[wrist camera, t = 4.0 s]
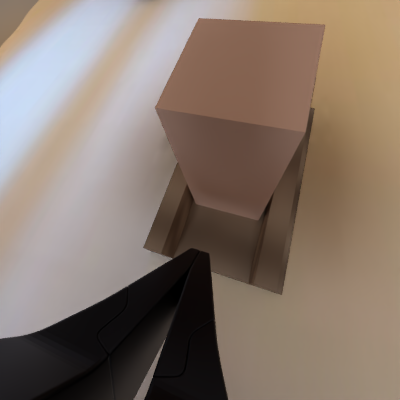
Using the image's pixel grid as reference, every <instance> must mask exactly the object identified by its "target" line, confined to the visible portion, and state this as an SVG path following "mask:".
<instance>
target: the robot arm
mask: <svg viewBox="0 0 400 400" xmlns="http://www.w3.org/2000/svg"><path fill="white" fill-rule="evenodd" d="M166 336H167V337H166ZM165 338H166V340H165ZM164 340H165V343H164V345H163V348H162V351H161V354H160V357H159V360H158V363H157V366H156V369H155V372H154V375H153V378H152V381H151V384H150V386H149V389H148V392H147V394H146V397H145V399H144V400H228V397H227V392H226V387H225V382H224V377H223V373H222V368H221V363H220V357H219V351H218V344H217V336H216V325H215V314H214V302H213V289H212V277H211V264H210V254H209V253H207V252H204V251H200V250H198V249H195V248H190V249H188V250H187V251H185V252H183V253H182V254H180V255H178V256H177V257H175V258H173V259H172V260H170V261H168V262H167V263H165V264H163V265H162V266H160V267H158V268H157V269H155V270H153V271H152V272H150V273H148V274H147V275H145V276H143V277H142V278H140V279H138V280H137V281H135V282H134V283H132V284H130V285H129V286H128V287H125V288H123V289H122V290H120V291H118V292H117V293H115V294H113V295H111V296H110V297H108V298H106V299H104V300H102V301H100V302H98V303H96V304H94V305H93V306H91V307H89V308H86V309H84V310H82V311H80V312H78V313H76V314H74V315H72V316H70V317H68V318H66V319H64V320H62V321H60V322H58V323H56V324H53V325H51V326H49V327H47V328H45V329H42V330H40V331H37V332H34V333H31V334H28V335H23V336H18V337H10V338H2V339H0V400H133V399H134V397H135V396H136V394H137V392H138V390H139V388H140V386H141V384H142V382H143V380H144V378H145V376H146V374H147V373H148V371H149V369H150V367H151V365H152V363H153V361H154V359H155V357H156V355H157V353H158V352H159V350H160V348H161V346H162V344H163V342H164Z"/></svg>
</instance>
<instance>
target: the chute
mask: <svg viewBox="0 0 400 400" xmlns="http://www.w3.org/2000/svg"><path fill="white" fill-rule="evenodd" d="M315 80H316V78H315ZM314 85H315V84H314ZM313 91H314V89H313ZM312 96H313V94H312ZM311 101H312V100H311ZM310 107H311V105H310ZM314 109H315V108H310V111H309V116H308V121H307V127H306V132H305V134H304V136H303V138H302V140H301V142H300V144H299V145H298V147H297V149H296V151H295V153H294V155H293V157H292V159H291V160H290V162H289V164H288V166H287V168H286V170H285V172H284V174H283V175H282V177H281V179H280V181H279V183H278V185H277V187H276V189H275V190H274V192H273V194H272V196H271V198H270V200H269V202H268V204H267V205H266V207H265V209H264V211H263V213H262V215H261V217H260V219H259V220H254V219H250V218H247V217H243V216H239V215H235V214H232V213H228V212H224V211H220V210H216V209H213V208H209V207H205V206H201V205H198V204H196V203H195V201H194V198H193V196H192V194H191V191H190V189H189V187H188V184H187V182H186V180H185V177H184V175H183V173H182V170H181V168H180V166H179V163H177V165H176V168H175V170H174V173H173V175H172V178H171V180H170V183H169V185H168V188H167V190H166V193H165V195H164V198H163V200H162V203H161V205H160V208H159V210H158V213H157V215H156V218H155V220H154V222H153V225H152V227H151V230H150V232H149V235H148V237H147V240H146V242H145V245H144V247H143V248H145V249H147V250H150V251H153V252H156V253H159V254H162V255H165V256H168V257H171V258H175V257H177V256H178V255H180V254H182V253H183V252H185V251H187V250H188V249H190V248H195V249H198V250H200V251H204V252H207V253H209V254H210V264H211V271H212V272H215V273H218V274H221V275H224V276H227V277H230V278H233V279H236V280H239V281H242V282H245V283H248V284H251V285H254V286H257V287H260V288H263V289H266V290H269V291H272V292H274V293H277V294H281V295H282V291H283V285H284V280H285V274H286V268H287V263H288V257H289V251H290V246H291V240H292V234H293V228H294V223H295V217H296V211H297V206H298V200H299V194H300V189H301V183H302V177H303V172H304V166H305V160H306V154H307V149H308V143H309V137H310V132H311V126H312V120H313V115H314Z"/></svg>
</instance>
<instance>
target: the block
mask: <svg viewBox="0 0 400 400" xmlns="http://www.w3.org/2000/svg"><path fill="white" fill-rule="evenodd" d="M324 29H325V25H320V24H300V23H281V22H261V21H241V20H222V19H202V18H199V19H198V21H197V23H196V25H195V27H194V29H193V31H192V33H191V35H190V37H189V39H188V41H187V43H186V45H185V48H184V50H183V52H182V54H181V56H180V58H179V60H178V62H177V64H176V66H175V68H174V70H173V72H172V74H171V76H170V78H169V80H168V82H167V84H166V86H165V88H164V90H163V93H162V95H161V97H160V99H159V101H158V103H157V105H156V107H155V109H156V111H157V114H158V116H159V118H160V121H161V123H162V126H163V128H164V130H165V133H166V135H167V137H168V140H169V142H170V144H171V147H172V149H173V151H174V154H175V156H176V158H177V161H178V163H179V166H180V168H181V170H182V173H183V175H184V177H185V180H186V182H187V184H188V187H189V189H190V191H191V194H192V196H193V198H194V201H195V203H196V204H198V205H201V206H205V207H209V208H213V209H216V210H220V211H224V212H228V213H232V214H235V215H239V216H243V217H247V218H250V219H254V220H259V219H260V217H261V215H262V213H263V211H264V209H265V207H266V205H267V204H268V202H269V200H270V198H271V196H272V194H273V192H274V190H275V189H276V187H277V185H278V183H279V181H280V179H281V177H282V175H283V174H284V172H285V170H286V168H287V166H288V164H289V162H290V160H291V159H292V157H293V155H294V153H295V151H296V149H297V147H298V145H299V144H300V142H301V140H302V138H303V136H304V134H305V132H306V127H307V121H308V116H309V111H310V105H311V100H312V94H313V89H314V84H315V78H316V73H317V67H318V62H319V57H320V51H321V46H322V40H323V35H324Z"/></svg>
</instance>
